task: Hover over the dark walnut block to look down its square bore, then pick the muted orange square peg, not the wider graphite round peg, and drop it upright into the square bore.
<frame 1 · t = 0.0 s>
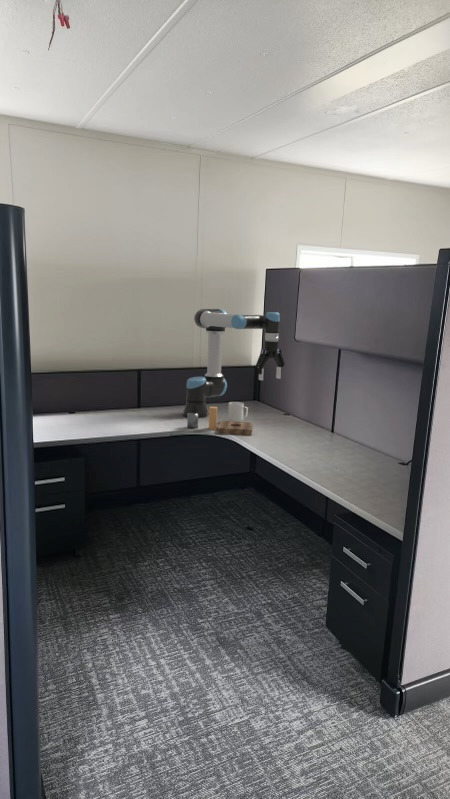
hand: (269, 379, 300), 28 cm above the table, tool pointing down, fingers open, 13 cm apart
socket block: (235, 430, 298), on the table
square peg: (212, 428, 300), on the table
mug: (237, 422, 318), on the table
round peg: (192, 427, 301), on the table
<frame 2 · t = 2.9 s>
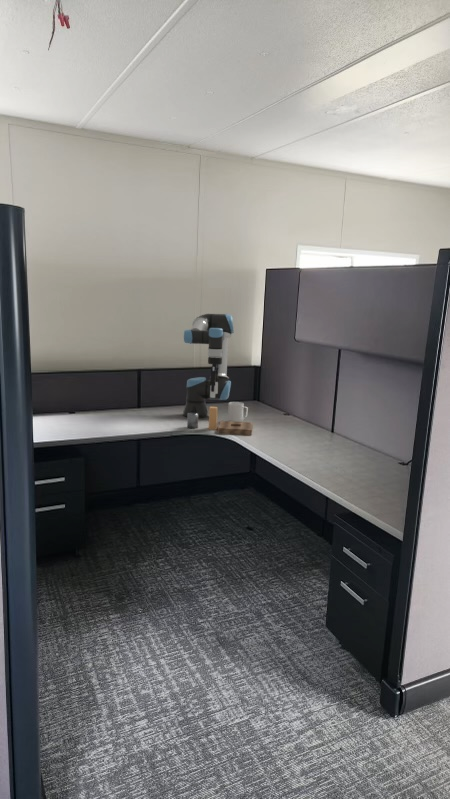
hand: (213, 395, 296), 19 cm above the table, tool pointing down, fingers open, 13 cm apart
nothing on the table moved.
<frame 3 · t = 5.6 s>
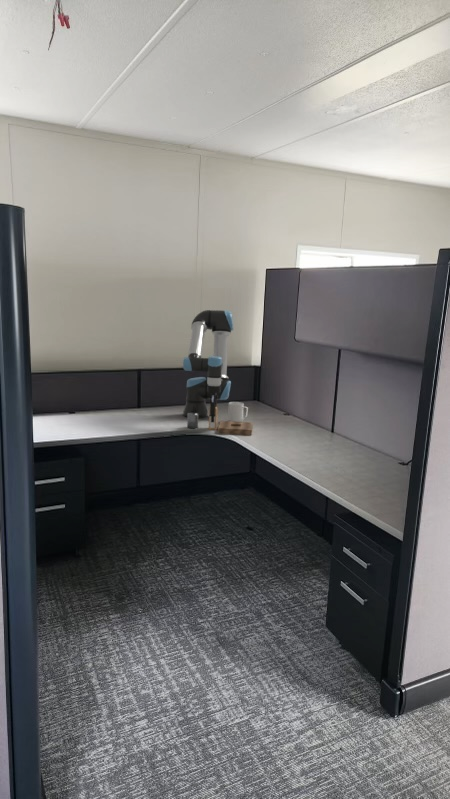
hand: (212, 426, 300), 1 cm above the table, tool pointing down, fingers closed on square peg, 4 cm apart
square peg: (212, 428, 300), on the table, touching gripper
everything else where it was.
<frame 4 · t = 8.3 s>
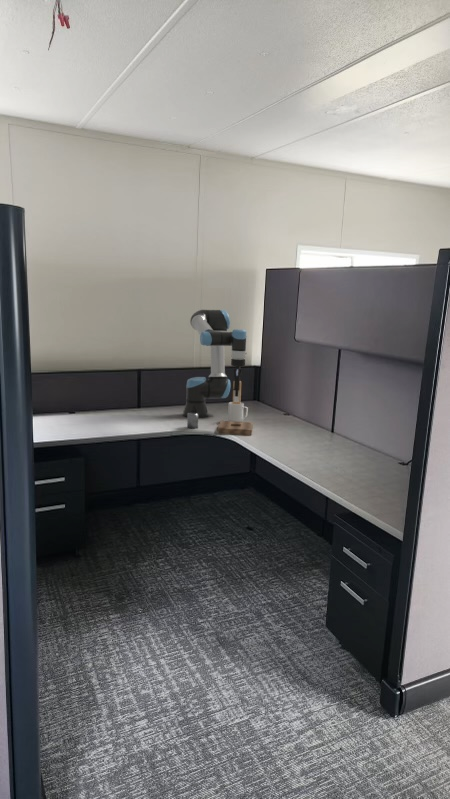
hand: (236, 401, 295), 16 cm above the table, tool pointing down, fingers closed on square peg, 4 cm apart
square peg: (236, 403, 295), point 15 cm above the table, touching gripper
everything else where it was.
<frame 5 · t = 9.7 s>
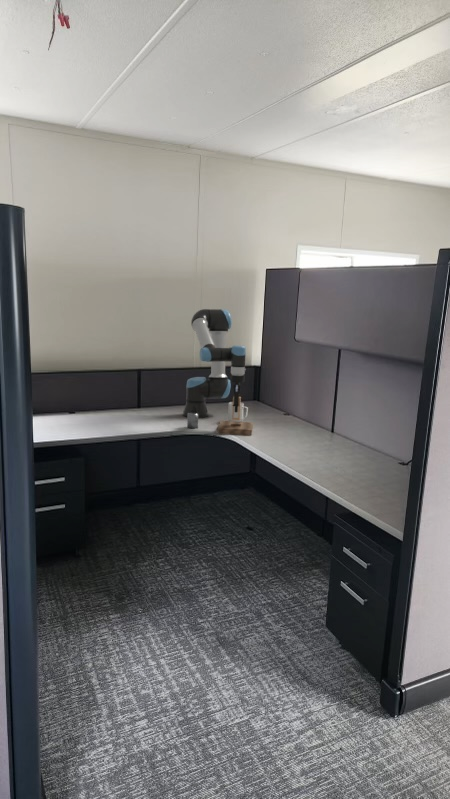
hand: (236, 416, 296), 8 cm above the table, tool pointing down, fingers closed on square peg, 4 cm apart
square peg: (236, 418, 296), point 7 cm above the table, touching gripper
everything else where it was.
when the fingers open (5 cm above the table, at t = 11.0 s): square peg drops 3 cm, resting in socket block.
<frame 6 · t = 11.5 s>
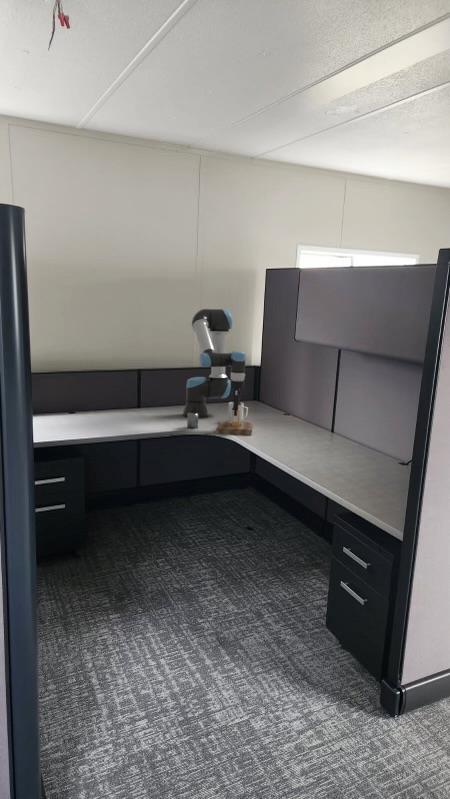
hand: (236, 419, 296), 6 cm above the table, tool pointing down, fingers open, 12 cm apart
square peg: (235, 430, 298), resting in socket block
everything else where it was.
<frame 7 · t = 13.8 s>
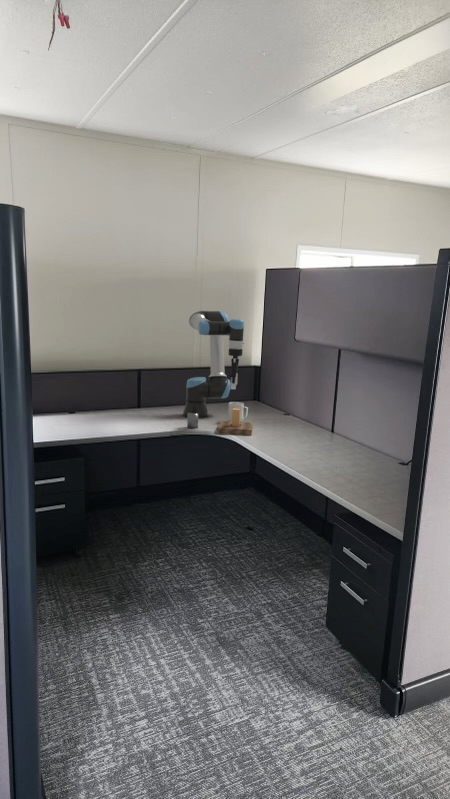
hand: (233, 387, 296), 24 cm above the table, tool pointing down, fingers open, 13 cm apart
nothing on the table moved.
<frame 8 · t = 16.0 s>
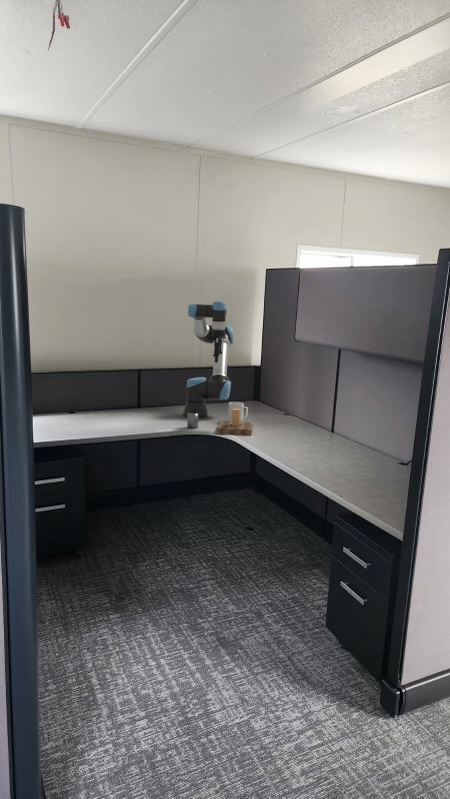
hand: (217, 366, 309), 33 cm above the table, tool pointing down, fingers open, 13 cm apart
nothing on the table moved.
at the end: square peg 0.0 cm off-centre on the socket block, point 0.0 cm above the socket block's base; square peg tilted 0°; the gripper is holding nothing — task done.
